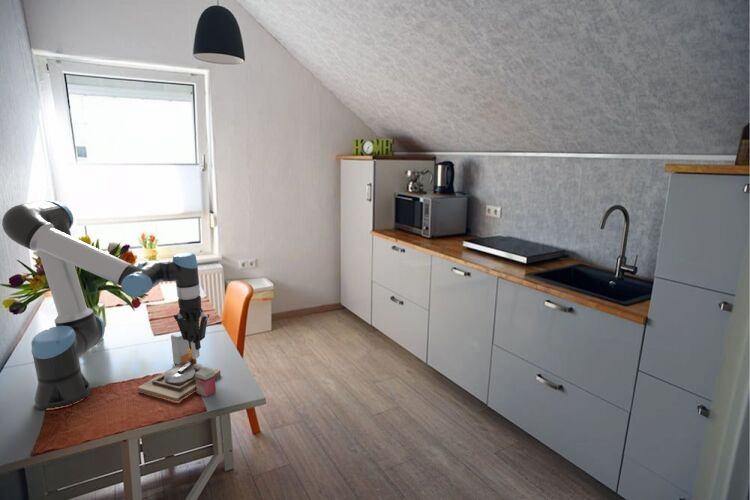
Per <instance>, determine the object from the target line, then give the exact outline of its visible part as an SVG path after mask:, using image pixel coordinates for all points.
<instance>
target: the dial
mask: <svg viewBox="0 0 750 500" xmlns="http://www.w3.org/2000/svg"><path fill="white" fill-rule="evenodd" d="M188 351H189V362H187V364H186V365H184V366H183V367H178V368H175V369H172V370H170V371H168V372H167V373H166V374H165V375H164V379H165V383H167V384H171V385H175V386H176V385H182V384H185V383H187V382H188V381H190V380H191V379H193V378H195V369H194V368H192V367H191V366H192V365H193V364H195V365H197V359H192V350H191V349H190V348H188Z"/></svg>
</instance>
